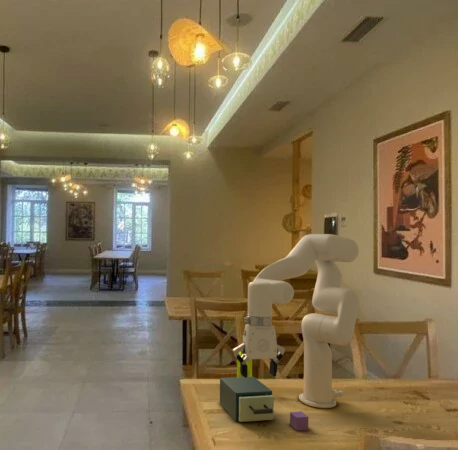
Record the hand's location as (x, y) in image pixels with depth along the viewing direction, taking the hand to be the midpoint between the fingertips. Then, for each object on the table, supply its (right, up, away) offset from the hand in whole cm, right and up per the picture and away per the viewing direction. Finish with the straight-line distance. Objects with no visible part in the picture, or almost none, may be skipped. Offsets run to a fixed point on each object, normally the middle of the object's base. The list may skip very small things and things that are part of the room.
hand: (258, 375), depth 130 cm
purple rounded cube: (+12, -16, -1) cm, 20 cm away
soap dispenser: (+3, -17, +34) cm, 38 cm away
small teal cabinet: (-2, -16, +10) cm, 19 cm away
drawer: (-1, -15, +5) cm, 16 cm away
